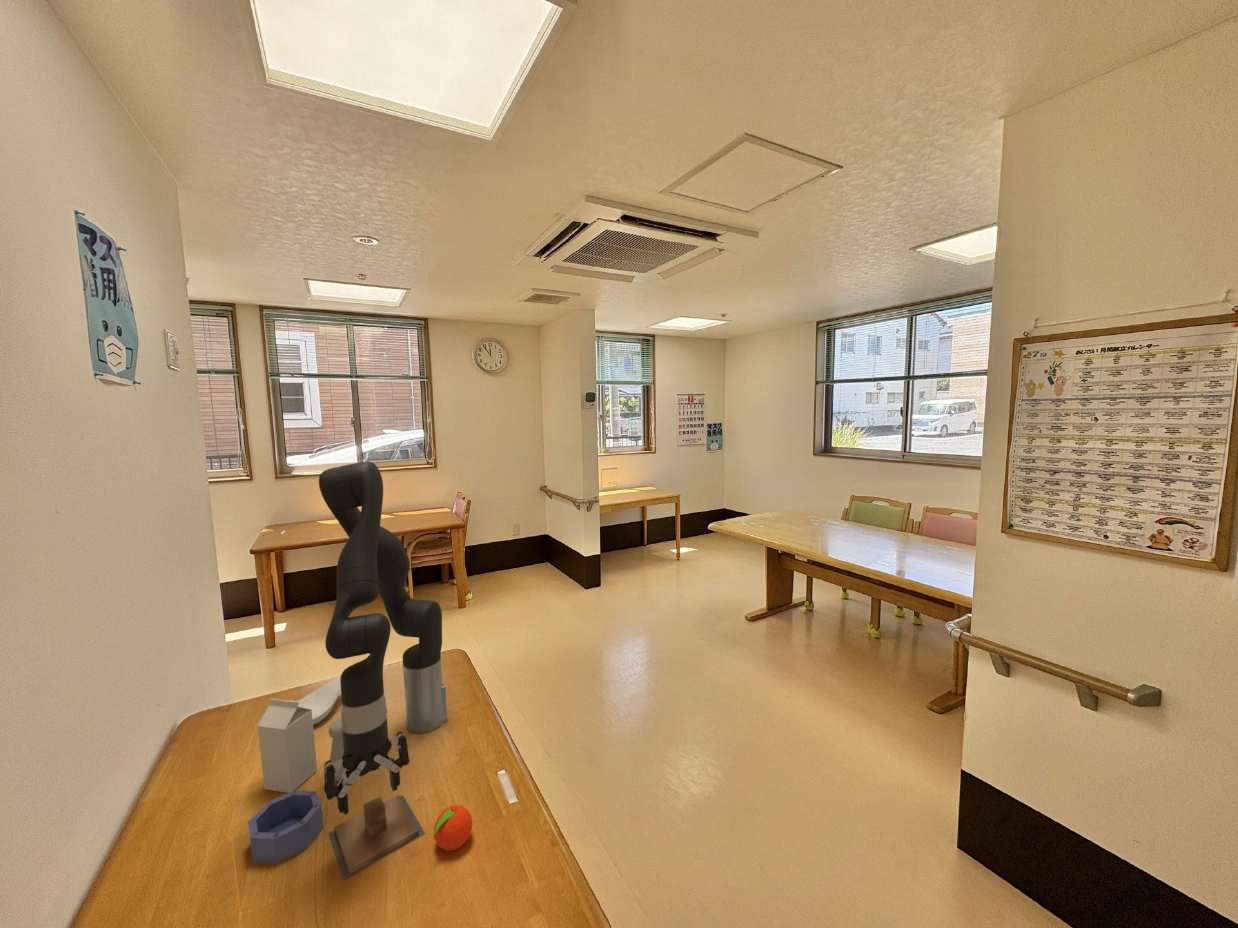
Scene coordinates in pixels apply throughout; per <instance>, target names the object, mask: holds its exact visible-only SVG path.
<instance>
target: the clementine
mask: <svg viewBox="0 0 1238 928" xmlns="http://www.w3.org/2000/svg"><path fill="white" fill-rule="evenodd" d="M472 829H473V817H472V814H471V813H470V811H469V809H467V808H466V806H463V805H461V804H454V805H450V806H448V807H446V808H444V809H443V810H442V811H441V813H440V814H439V815H438V817H437V819H436V821H435V823H434V827H433V836H432V841H435V843H436V844H437V846H438V848H441V849H443V850H444V851H448V852H450V851H455V850H458V849H460V848H461V847H463V846H464V845H465V843H466V842H467V841H468V840H469V838H470V835H471V833H472Z"/></svg>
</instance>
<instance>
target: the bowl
mask: <svg viewBox="0 0 1238 928" xmlns="http://www.w3.org/2000/svg"><path fill="white" fill-rule="evenodd" d="M322 808H323V807H322V803H321V800H320V796H319V794H318V791H317V790H298V789H296V790H294V791H292V792H290V793H285V794H284V795H281V796H278V797H276V798H275V799H271V800H270V801H267V802H266V803H265V804H264V805H263V806H262V807H261V808H260V809H259V810H258V811H257V812H256V813H255V814H254V815H253V816H252V817H251V818H250V819H249V821H248V822H247V826H248V827H247V828H248V834H249V843H250V851H251V859H252V863H253V864H271V865H273V864H276V865H278V864H280V863H281V862H284V861H285V860H287V859H289V858H291V857H293V856H295V855H297V854H298V853H301V852H303V851H305V850H307V849H308V848H309V846H311V844H312V843H313V841H315V839H316V838H317V837H318V835H319V834H320V833H321V831H322V830H323V829H324V822H323V821H324V818H323V809H322Z"/></svg>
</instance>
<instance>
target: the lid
mask: <svg viewBox="0 0 1238 928" xmlns="http://www.w3.org/2000/svg"><path fill="white" fill-rule="evenodd" d="M400 796H401V795H399V794H398V795H395V796H393V797H391V798H389V799H387V800H385V801H384V800H383V799H382V797H381V796H379V797H376V798H374V799H372V800H369V801H368V802H366V803H365V804H363V812H361V813H360V814H357V815H355V816H353V817H352V818H349V819H348V820H345V821H343V822H342V823H340V824H337V825H336V826H334V827H333V828H334V831H335V834H336V837H337V840H338V843H339V846H340V848H341V851H342V854H343V857H344V860H345V863H346V865H347V868H348V871H349V874H352V873H354V872H355V871H357V870H359V869H361V868H362V867H364V866H366V865H368V864H369V863H371V862H373V861H375V860H376V859H378V858H380V857H382V856H383V855H385V854H387V853H389V852H390V851H392V850H394V849H396V848H397V847H399V846H401V845H403V844H404V843H406V842H408V841H410V840H411V839H413V838H415V837H417V836H418V835H419V830H418V828H417V826H416V825H415V823H414V821H413V819H412V818H411V816H410V814H409V812H408V810H407V809H406V807H405V805H404V803H403V802H402V800H401V798H400Z"/></svg>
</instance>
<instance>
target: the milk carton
mask: <svg viewBox="0 0 1238 928" xmlns="http://www.w3.org/2000/svg"><path fill="white" fill-rule="evenodd" d="M298 704H299V700H293V699H289V700H286V699H284V700H283V699H277V698H270V699H269V705H268V707H267V709H266V710H265V713H264V714H263V716H262V717H261V718H260V721H259V723H258V724H257V733H258V740H259V741H258V742H259V750H260V759H261V768H262V770H261V771H262V777H263V787H264V790H267V791H271V792H272V791H273V792H278V793H285V794H288V793H290V792H292V791H294V790H298V788H299V787H301V785H303V784H304V783H305V782H306V781H307V780H308V779H310V777H312V775H314V774H315V773H316V772H317V771H318V761H317V752H316V743H315V733H314V725H313V719H312V710H311V709H306V708H302V707H298Z"/></svg>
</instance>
